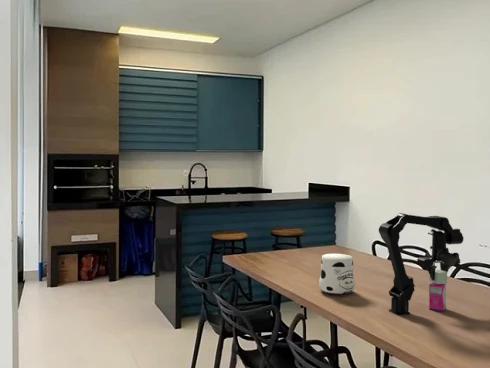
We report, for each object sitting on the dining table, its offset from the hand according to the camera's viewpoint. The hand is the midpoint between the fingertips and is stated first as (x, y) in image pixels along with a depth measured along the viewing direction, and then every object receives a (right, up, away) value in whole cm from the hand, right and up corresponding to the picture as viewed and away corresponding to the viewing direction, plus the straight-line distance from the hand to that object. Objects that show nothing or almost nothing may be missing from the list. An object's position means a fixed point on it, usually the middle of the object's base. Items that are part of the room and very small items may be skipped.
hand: (438, 280), depth 203 cm
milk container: (-40, -12, +26) cm, 49 cm away
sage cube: (0, -1, 0) cm, 1 cm away
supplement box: (0, -13, +1) cm, 13 cm away
